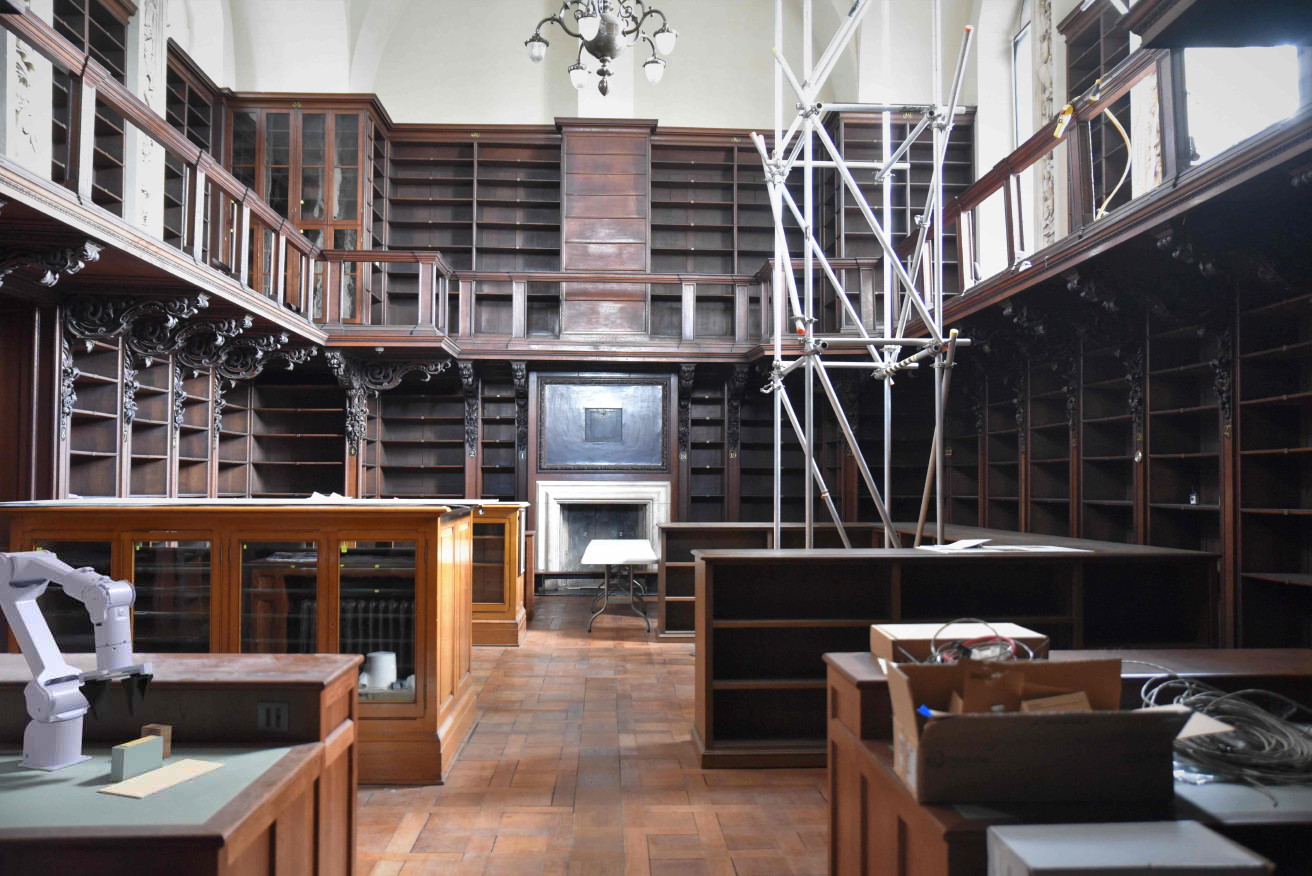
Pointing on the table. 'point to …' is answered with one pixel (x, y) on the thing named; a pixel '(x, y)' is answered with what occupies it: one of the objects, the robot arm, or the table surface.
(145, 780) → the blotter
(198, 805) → the table surface
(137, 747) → the blue-grey box
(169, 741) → the walnut bookend
